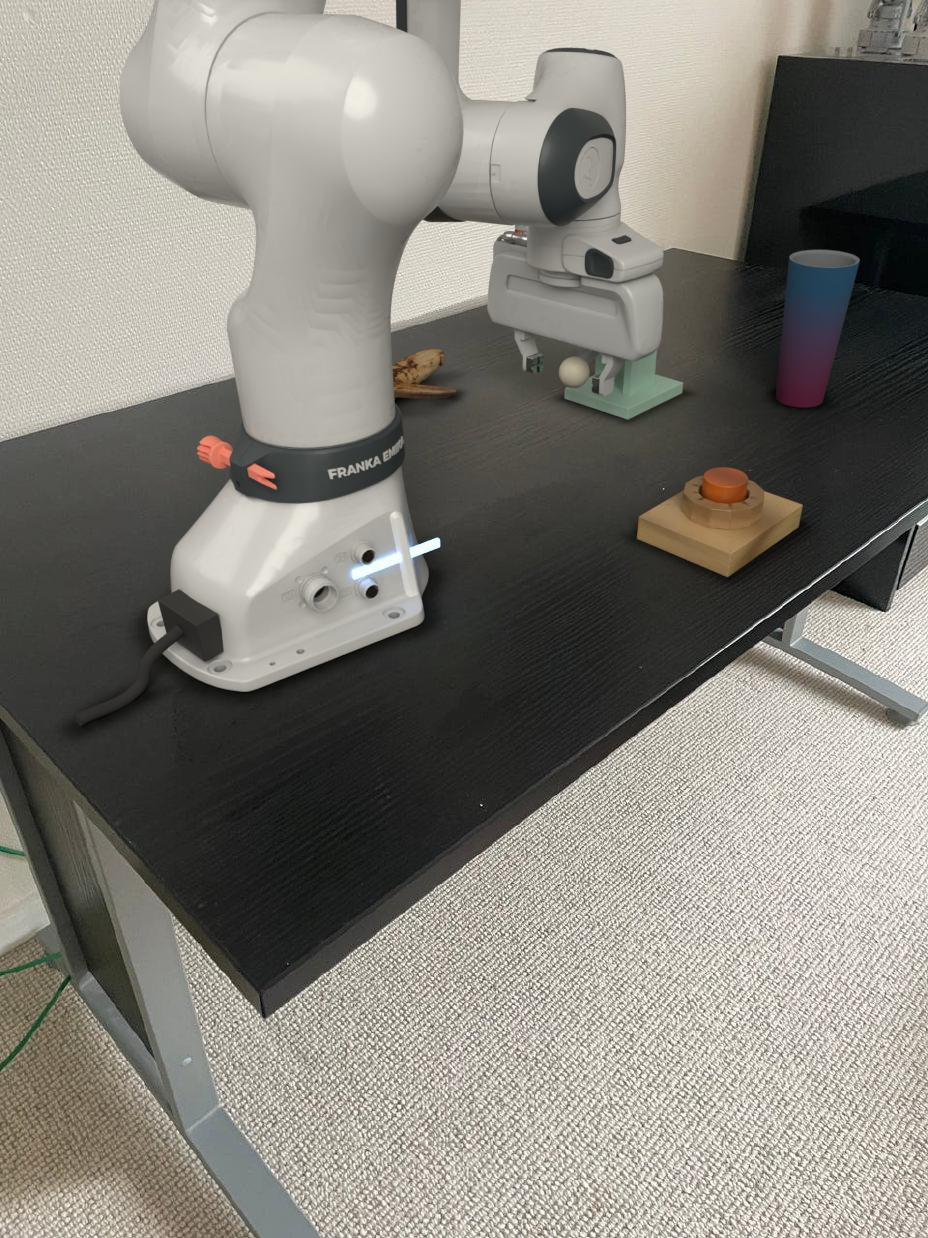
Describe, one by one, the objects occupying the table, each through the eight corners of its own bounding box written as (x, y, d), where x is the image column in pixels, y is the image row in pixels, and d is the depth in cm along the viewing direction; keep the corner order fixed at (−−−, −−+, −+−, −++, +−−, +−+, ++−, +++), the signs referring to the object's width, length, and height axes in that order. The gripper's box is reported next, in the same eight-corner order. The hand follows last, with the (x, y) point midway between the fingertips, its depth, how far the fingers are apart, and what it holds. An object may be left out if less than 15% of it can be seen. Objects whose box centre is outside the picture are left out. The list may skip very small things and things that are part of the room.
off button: (729, 510, 77) (732, 490, 76) (692, 496, 79) (695, 477, 78) (753, 494, 79) (757, 475, 78) (717, 481, 81) (719, 462, 80)
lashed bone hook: (386, 439, 100) (483, 381, 112) (383, 398, 98) (483, 343, 109) (321, 418, 105) (421, 364, 116) (316, 377, 102) (419, 326, 113)
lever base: (627, 420, 101) (635, 309, 95) (564, 398, 107) (567, 292, 100) (682, 393, 107) (693, 286, 100) (619, 374, 112) (625, 272, 106)
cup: (834, 412, 101) (864, 267, 93) (768, 409, 103) (791, 266, 94) (828, 388, 107) (855, 249, 98) (765, 385, 108) (786, 248, 99)
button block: (727, 577, 76) (734, 534, 73) (636, 538, 81) (640, 497, 79) (798, 527, 82) (806, 485, 79) (709, 494, 87) (715, 454, 85)
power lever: (581, 397, 99) (572, 375, 96) (558, 389, 101) (549, 368, 98) (652, 312, 102) (645, 288, 99) (628, 306, 104) (621, 283, 101)
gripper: (473, 233, 96) (474, 366, 103) (637, 266, 83) (625, 415, 91) (515, 222, 99) (514, 352, 107) (679, 253, 87) (664, 397, 95)
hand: (566, 382), depth 99 cm, fingers open, 8 cm apart
